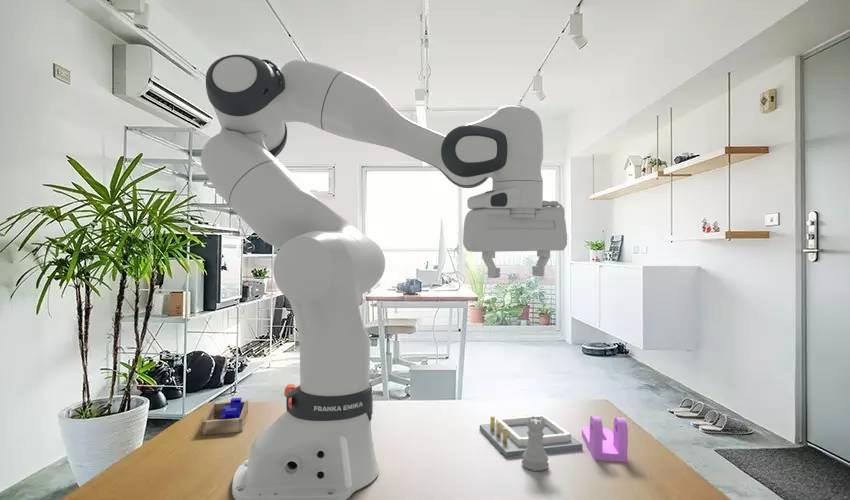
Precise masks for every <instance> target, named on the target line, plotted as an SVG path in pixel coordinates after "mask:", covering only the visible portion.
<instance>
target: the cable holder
mask: <svg viewBox="0 0 850 500" xmlns="http://www.w3.org/2000/svg"><path fill="white" fill-rule="evenodd" d="M242 399H243V398H242V397H232V398H231V399H230V402H231V405H228V406H224V407H223V409H222V415H220V420H221V419H235V418H240V415H241V412H242V401H243V400H242Z"/></svg>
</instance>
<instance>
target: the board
mask: <svg viewBox="0 0 850 500" xmlns="http://www.w3.org/2000/svg"><path fill="white" fill-rule="evenodd" d="M532 416H534V417H535V419H537V417H540V420H541V418H543V422H544V423H545V425H546V426H545V428H544V429H543V433H544V436H543V446H544V451H545V452H546V454H553V453H562V452H563V453H564V452H572V451H580V450H582V451H583V443H582V442H580V441H579V440H578V439H577V438H575V437H573V436H572V433H570V432H569V431H568V430H566V429H565V428H563V427H562V426H560V425H559V424H558V423H557V422H555V421H554V420H552V419H551V418H549V417H548V416H547V415H545V414H536V415H527V416H525V415H524V416H514V417H511V416H510V417H501V418H496V417H495V416H493V415H492V416H490V420H489V421H490V423H486V424H485V423H483V424H479V431H480V432H481V433H482V434H483V435H484V436H485V437H486V438H487V439H488V440H489V441H490V442H491V443H492V445H494V447H496V449H497V450H498V451H499V452H500V453H501V454H502V455H503V456H504V457H505V458H506V459H507V458H508V459H509V458H516V457H522V455H523V453H524V452H525V449H526V448H527V444H528V434H527V432H528V431H529V428H528V427H527V425H526V423H527V421H528V418H529V417H532ZM495 418H496V419H495ZM495 421H496V422H495Z"/></svg>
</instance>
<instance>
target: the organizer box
mask: <svg viewBox="0 0 850 500" xmlns="http://www.w3.org/2000/svg"><path fill="white" fill-rule="evenodd" d="M228 405H231V401H224V402H212V404H211V405H210V407H209V409H208V411H207V413H206V415H205V416H204V419H203V420H202V426H201V427H202V428H201V429H202V433H201V434H202V435H203V436H205V435H216V434H217V435H218V434H229V433H241V432H243V430H244V428H245V423H246V420H247V416H248V413H249V400H242V412H241V415H240V418H235V419H221V418H220V419H214V418H215V417H216V416H221V415H222V409H223V407H224V406H228ZM202 435H201V436H202Z"/></svg>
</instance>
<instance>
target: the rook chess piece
mask: <svg viewBox="0 0 850 500" xmlns="http://www.w3.org/2000/svg"><path fill="white" fill-rule="evenodd" d="M531 416H532V417H529V418H528V421H527V423H526V425H527V427H528V428H529V431H528V432H527V434H528V444H527V448H526V449H525V452H524V453H523V455H522V456H521V457H522V461H521V464H522V465H523V467H524V468H525V469H527V470H528V471H532V472H542V471H543V472H544V471H546V470H547V469H548V468H549V466H550V465H549V462H548V461H549V457H548V455H547V453H546V452H545V451H544V446H543V436H544V433H543V429H544V428H545V426H546V425H545V423H544V422H543V418H541V420H540V417H537V419H535V417H534V415H531Z"/></svg>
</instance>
